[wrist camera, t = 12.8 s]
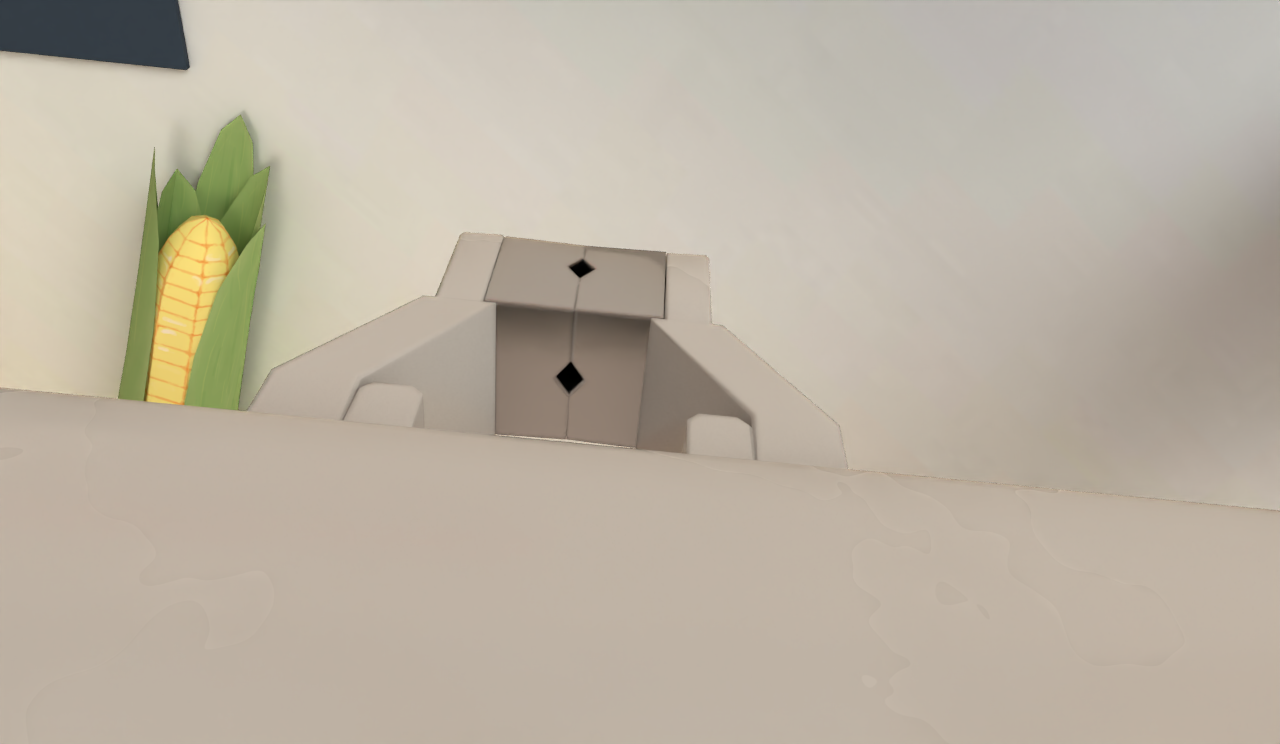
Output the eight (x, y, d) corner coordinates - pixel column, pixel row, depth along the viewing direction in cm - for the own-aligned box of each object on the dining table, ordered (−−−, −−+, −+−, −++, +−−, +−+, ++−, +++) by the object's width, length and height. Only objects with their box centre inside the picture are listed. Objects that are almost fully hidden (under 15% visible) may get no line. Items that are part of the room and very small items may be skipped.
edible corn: (130, 462, 47) (82, 531, 43) (173, 83, 36) (114, 131, 32) (238, 495, 48) (200, 564, 44) (313, 135, 37) (271, 187, 33)
